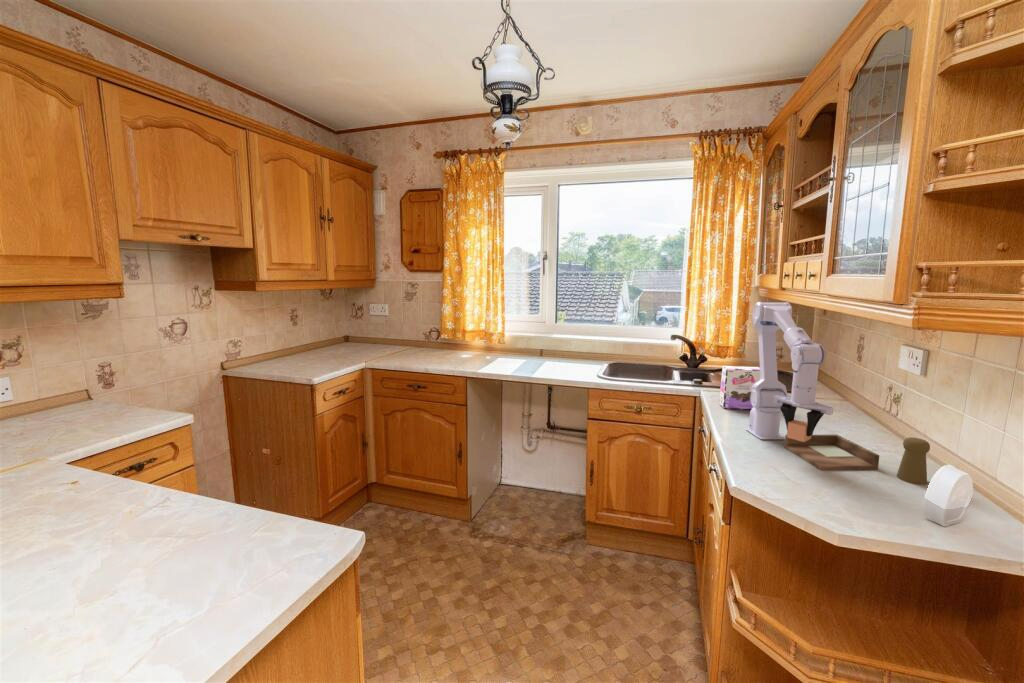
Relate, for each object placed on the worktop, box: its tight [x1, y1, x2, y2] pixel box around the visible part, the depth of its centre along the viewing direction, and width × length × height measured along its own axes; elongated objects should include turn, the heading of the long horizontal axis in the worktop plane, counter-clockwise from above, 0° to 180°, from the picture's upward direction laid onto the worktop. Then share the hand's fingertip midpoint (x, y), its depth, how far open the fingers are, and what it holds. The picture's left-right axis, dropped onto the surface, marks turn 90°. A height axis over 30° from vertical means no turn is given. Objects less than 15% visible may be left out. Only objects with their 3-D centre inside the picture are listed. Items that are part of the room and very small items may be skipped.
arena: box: [784, 434, 880, 471], centre depth 131 cm, size 16×16×4 cm
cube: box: [786, 418, 811, 442], centre depth 128 cm, size 4×4×4 cm
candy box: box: [718, 365, 763, 410], centre depth 179 cm, size 14×6×16 cm, turn 80°
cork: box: [896, 436, 931, 485], centre depth 117 cm, size 6×6×11 cm
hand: (799, 432), depth 128 cm, fingers closed on cube, 4 cm apart
